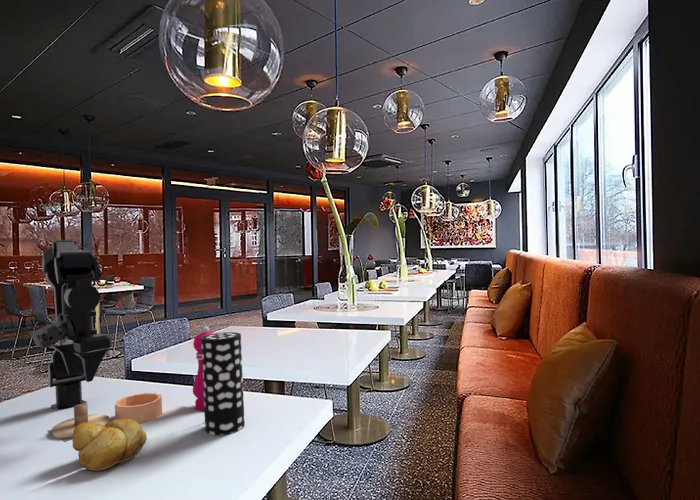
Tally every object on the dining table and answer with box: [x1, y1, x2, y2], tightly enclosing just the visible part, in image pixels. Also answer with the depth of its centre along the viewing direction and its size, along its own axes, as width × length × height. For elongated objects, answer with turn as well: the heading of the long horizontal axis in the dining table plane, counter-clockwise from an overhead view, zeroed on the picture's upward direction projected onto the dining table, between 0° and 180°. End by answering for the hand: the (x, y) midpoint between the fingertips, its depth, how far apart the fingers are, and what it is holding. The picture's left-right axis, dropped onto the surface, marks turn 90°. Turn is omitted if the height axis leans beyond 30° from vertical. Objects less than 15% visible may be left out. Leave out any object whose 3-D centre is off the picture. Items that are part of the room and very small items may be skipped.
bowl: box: [114, 392, 163, 424], centre depth 105 cm, size 10×10×4 cm
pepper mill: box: [192, 325, 215, 411], centre depth 112 cm, size 7×7×20 cm
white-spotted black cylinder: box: [201, 331, 246, 436], centre depth 98 cm, size 8×8×20 cm
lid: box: [51, 403, 111, 440], centre depth 99 cm, size 11×11×5 cm
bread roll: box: [71, 419, 148, 472], centre depth 85 cm, size 13×10×8 cm
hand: (80, 378), depth 99 cm, fingers open, 9 cm apart
